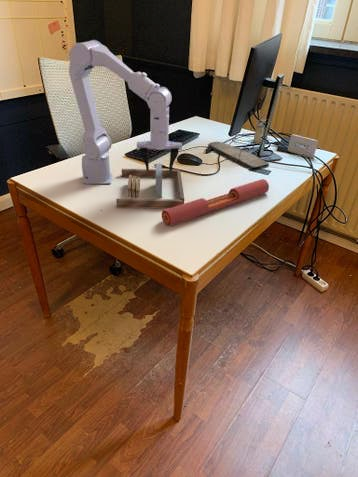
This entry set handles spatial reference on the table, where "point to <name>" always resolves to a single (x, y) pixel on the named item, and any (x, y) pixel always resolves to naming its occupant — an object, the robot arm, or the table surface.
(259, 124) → the lighter
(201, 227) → the table surface
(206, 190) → the table surface
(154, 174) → the rack
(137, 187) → the offcut stack
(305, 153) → the cassette
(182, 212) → the blood vessel
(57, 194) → the table surface
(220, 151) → the stone slab
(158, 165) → the grey upright plank
